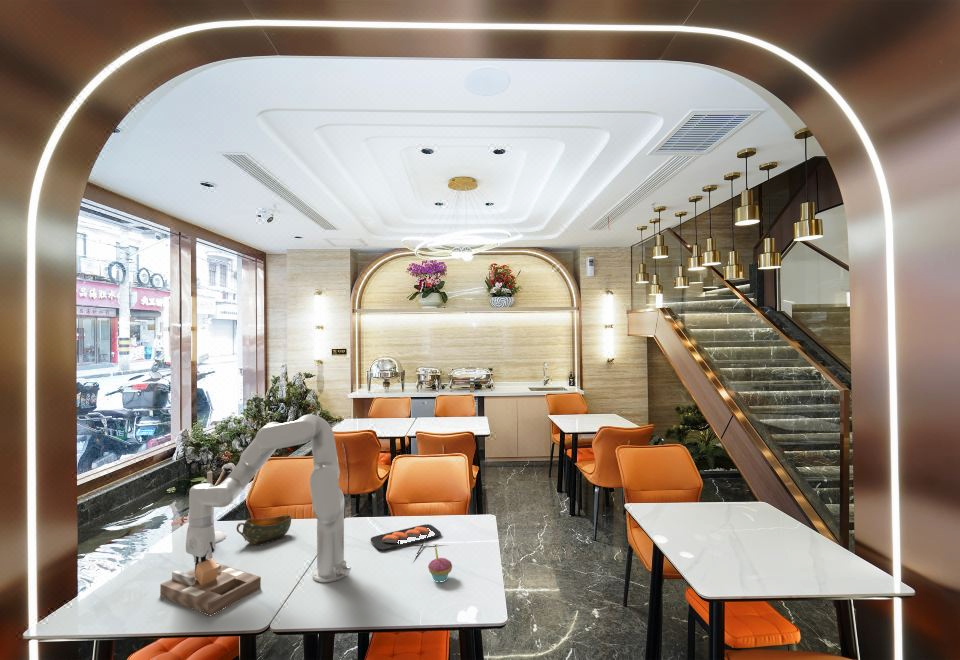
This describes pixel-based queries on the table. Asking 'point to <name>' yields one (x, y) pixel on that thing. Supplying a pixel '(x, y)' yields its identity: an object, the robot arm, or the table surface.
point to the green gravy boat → (265, 529)
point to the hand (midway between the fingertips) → (201, 573)
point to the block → (206, 571)
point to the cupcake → (440, 568)
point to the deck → (210, 589)
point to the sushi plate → (403, 537)
